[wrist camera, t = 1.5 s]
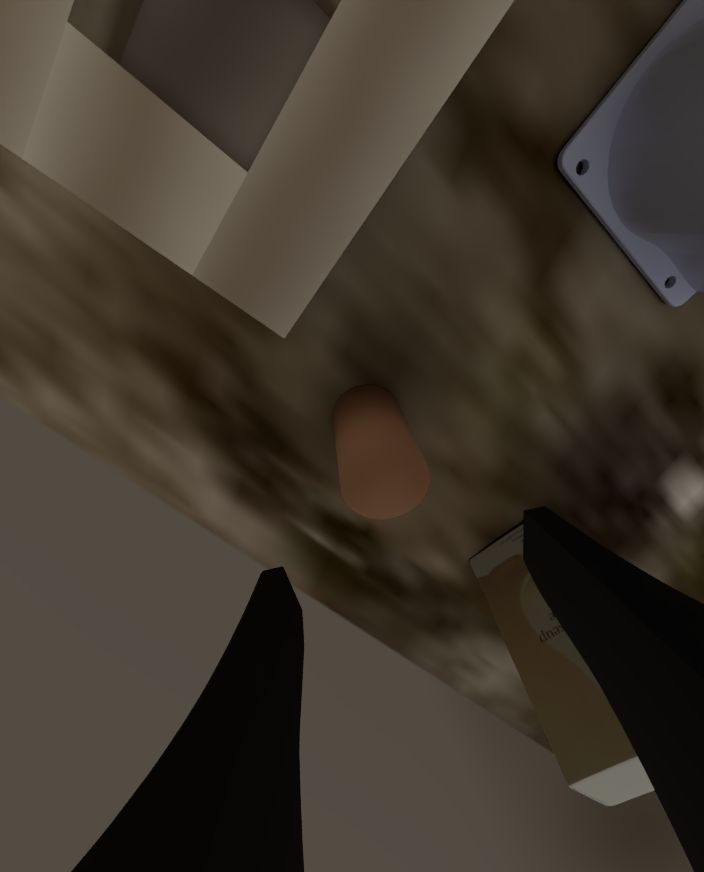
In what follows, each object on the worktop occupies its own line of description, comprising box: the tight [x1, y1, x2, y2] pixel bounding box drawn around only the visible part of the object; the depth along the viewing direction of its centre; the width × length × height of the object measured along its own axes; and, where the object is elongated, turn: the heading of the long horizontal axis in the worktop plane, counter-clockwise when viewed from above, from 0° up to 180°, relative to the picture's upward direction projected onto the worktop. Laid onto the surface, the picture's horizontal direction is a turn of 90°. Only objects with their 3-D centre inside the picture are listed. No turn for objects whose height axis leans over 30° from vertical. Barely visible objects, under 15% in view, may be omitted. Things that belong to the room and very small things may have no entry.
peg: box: [332, 385, 430, 519], centre depth 18 cm, size 4×4×6 cm
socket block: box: [0, 0, 514, 339], centre depth 11 cm, size 12×12×4 cm
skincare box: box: [470, 524, 654, 806], centre depth 21 cm, size 6×4×12 cm
